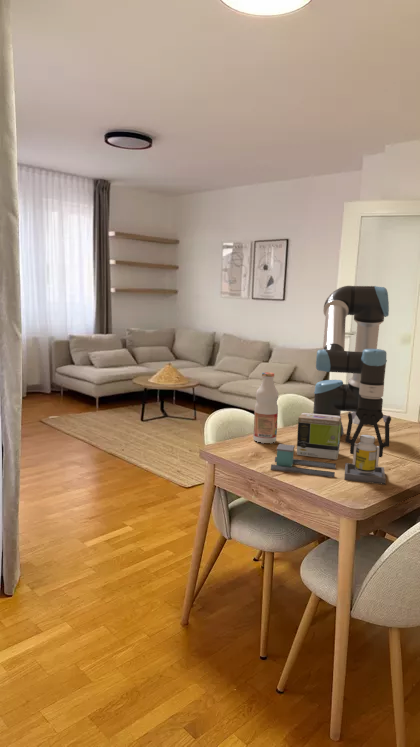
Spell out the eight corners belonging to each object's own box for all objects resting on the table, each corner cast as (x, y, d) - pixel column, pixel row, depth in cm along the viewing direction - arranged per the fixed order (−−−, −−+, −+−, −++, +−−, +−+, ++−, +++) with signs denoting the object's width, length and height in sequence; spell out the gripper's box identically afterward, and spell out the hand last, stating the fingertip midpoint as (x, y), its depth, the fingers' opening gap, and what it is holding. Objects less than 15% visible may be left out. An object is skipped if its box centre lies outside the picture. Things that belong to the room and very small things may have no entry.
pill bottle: (351, 467, 170) (354, 433, 168) (370, 467, 171) (373, 434, 169) (359, 474, 164) (361, 439, 162) (378, 474, 164) (381, 439, 163)
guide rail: (275, 460, 180) (275, 456, 180) (335, 467, 175) (335, 463, 175) (270, 469, 171) (271, 465, 171) (334, 477, 165) (334, 473, 165)
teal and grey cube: (278, 461, 178) (279, 443, 177) (293, 463, 177) (294, 445, 176) (275, 467, 172) (276, 448, 171) (291, 469, 171) (292, 450, 170)
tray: (345, 468, 175) (345, 462, 174) (383, 472, 171) (383, 467, 171) (344, 479, 164) (344, 473, 163) (385, 484, 160) (385, 478, 160)
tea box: (339, 453, 192) (342, 415, 190) (337, 460, 183) (339, 421, 181) (299, 448, 197) (302, 411, 195) (295, 455, 188) (298, 416, 185)
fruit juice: (248, 438, 207) (252, 371, 203) (268, 436, 212) (271, 371, 207) (261, 445, 199) (264, 375, 195) (280, 442, 203) (284, 374, 199)
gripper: (339, 396, 163) (334, 464, 166) (403, 401, 157) (397, 472, 161) (340, 392, 170) (335, 458, 173) (401, 397, 164) (395, 464, 168)
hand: (365, 464), depth 167 cm, fingers closed on pill bottle, 6 cm apart
